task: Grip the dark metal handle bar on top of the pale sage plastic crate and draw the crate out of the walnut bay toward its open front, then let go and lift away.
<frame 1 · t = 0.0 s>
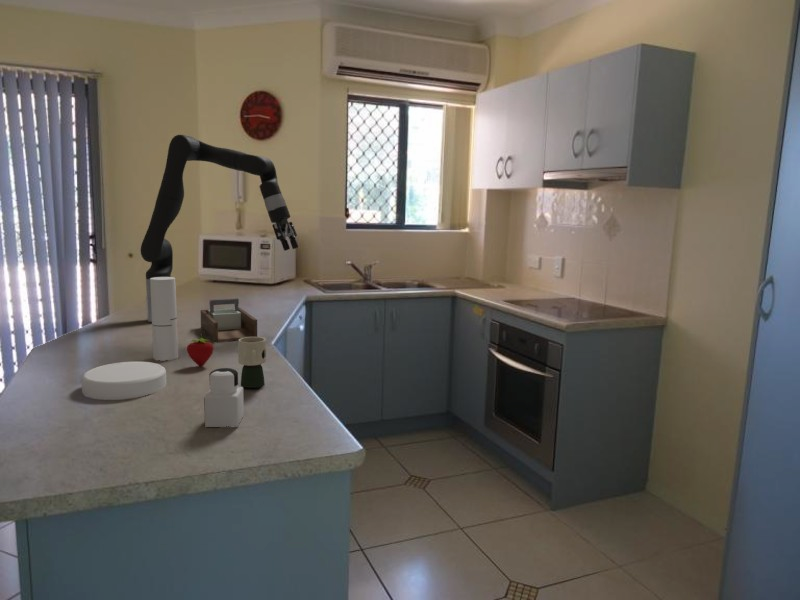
hand: (291, 249, 217), 31 cm above the countertop, tool tilted 20°, fingers open, 8 cm apart
medicine bottle: (224, 422, 128), on the countertop
cylindrical container: (165, 358, 178), on the countertop
container: (125, 388, 150), on the countertop
character mug: (252, 387, 153), on the countertop
crate: (224, 313, 217), point 7 cm above the countertop, slide at 0.0 cm
strawberry: (200, 367, 170), on the countertop
bay: (228, 333, 213), on the countertop
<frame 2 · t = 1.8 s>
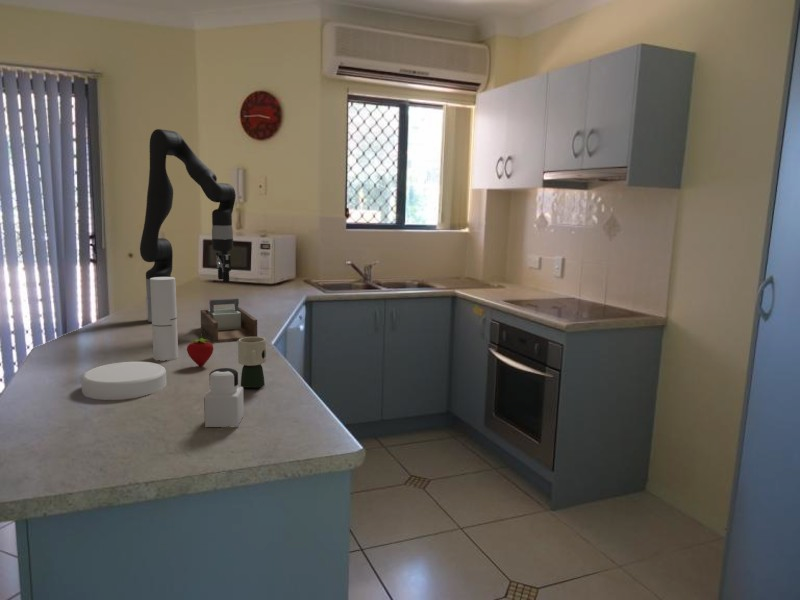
hand: (223, 280, 215), 19 cm above the countertop, tool pointing down, fingers open, 8 cm apart
nothing on the countertop moved.
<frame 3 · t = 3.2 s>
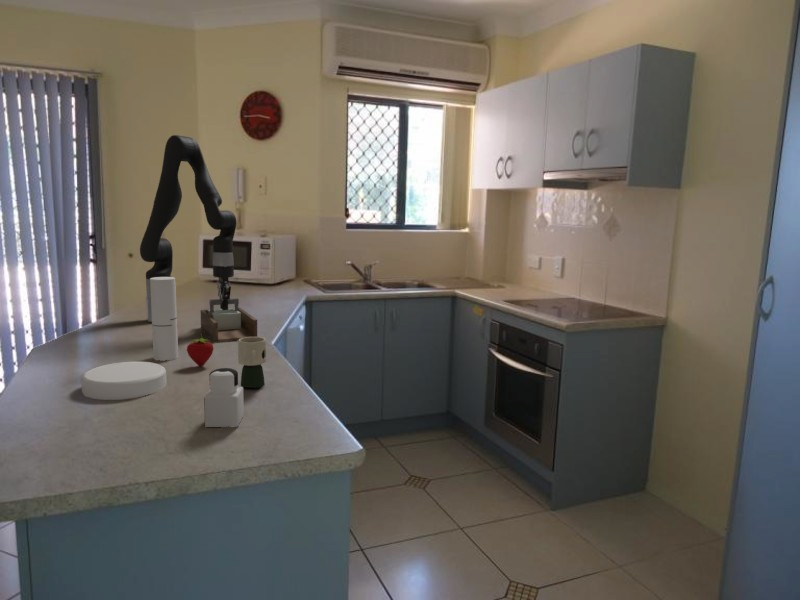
hand: (224, 309, 217), 8 cm above the countertop, tool pointing down, fingers closed, pressing on crate
crate: (224, 313, 217), point 7 cm above the countertop, slide at 0.0 cm, touching gripper
everything else where it was.
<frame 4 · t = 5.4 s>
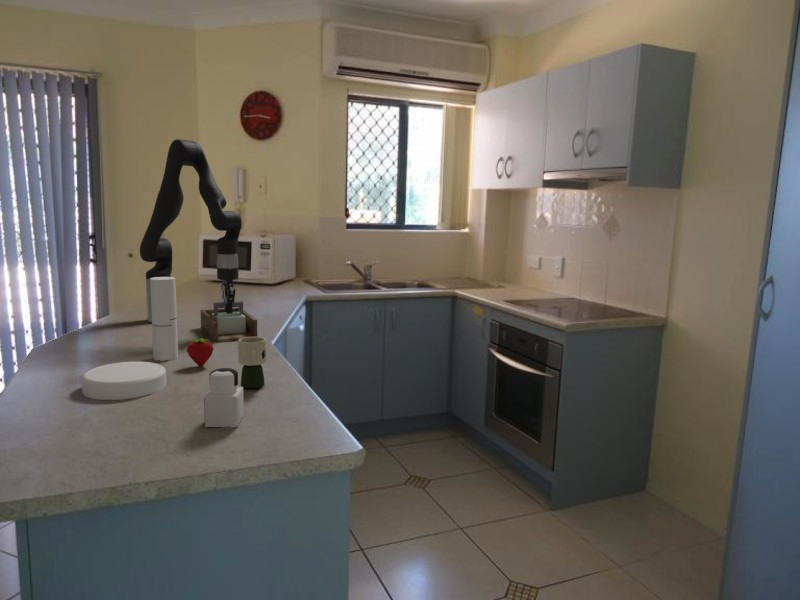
hand: (228, 312, 211), 8 cm above the countertop, tool pointing down, fingers closed on crate, 2 cm apart
crate: (228, 316, 211), point 7 cm above the countertop, slide at 7.2 cm, touching gripper
everything else where it was.
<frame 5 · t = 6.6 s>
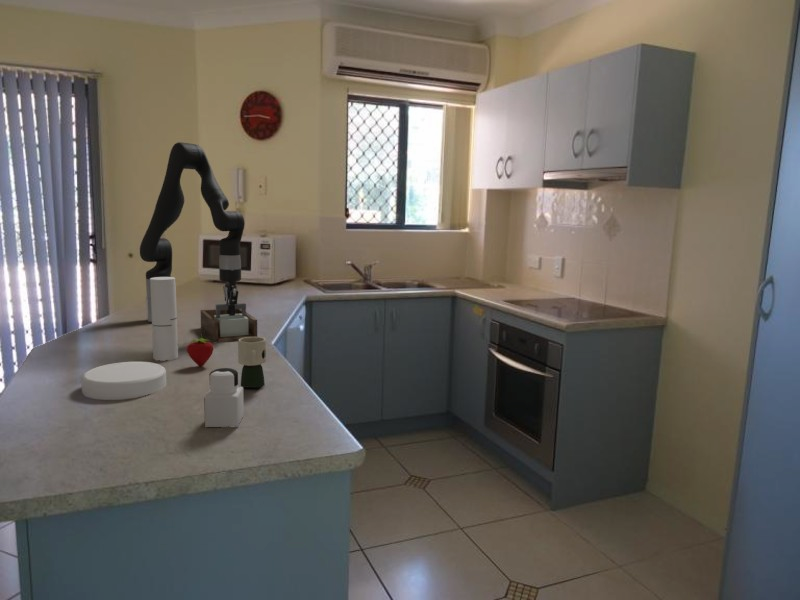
hand: (231, 314, 207), 8 cm above the countertop, tool pointing down, fingers closed on crate, 2 cm apart
crate: (231, 318, 208), point 7 cm above the countertop, slide at 11.4 cm, touching gripper
everything else where it was.
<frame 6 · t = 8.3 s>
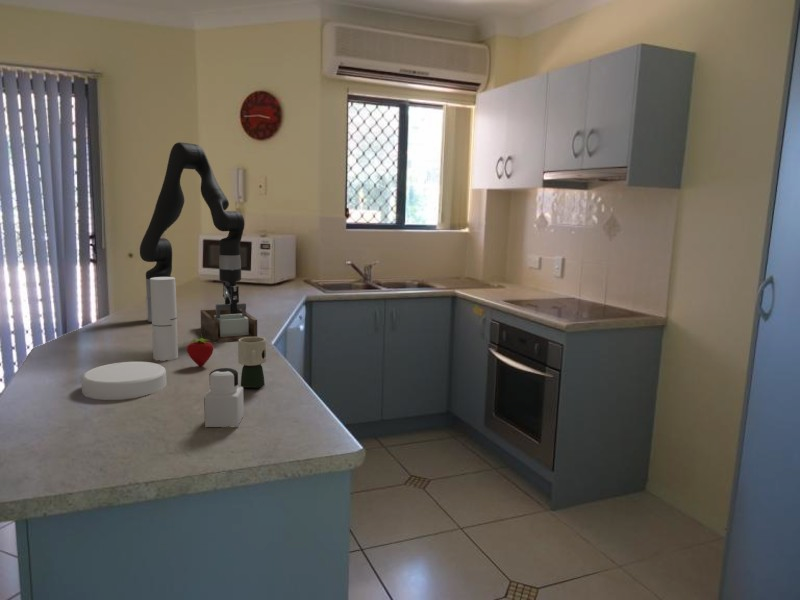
hand: (231, 311, 207), 9 cm above the countertop, tool pointing down, fingers open, 8 cm apart
crate: (231, 318, 208), point 7 cm above the countertop, slide at 11.4 cm
everything else where it was.
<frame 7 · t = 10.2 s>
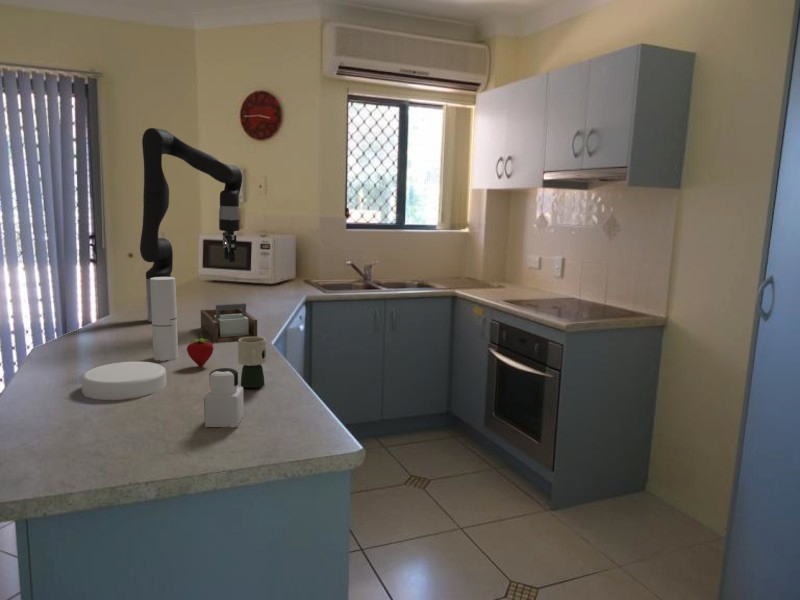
hand: (229, 260, 221), 26 cm above the countertop, tool pointing down, fingers open, 8 cm apart
nothing on the countertop moved.
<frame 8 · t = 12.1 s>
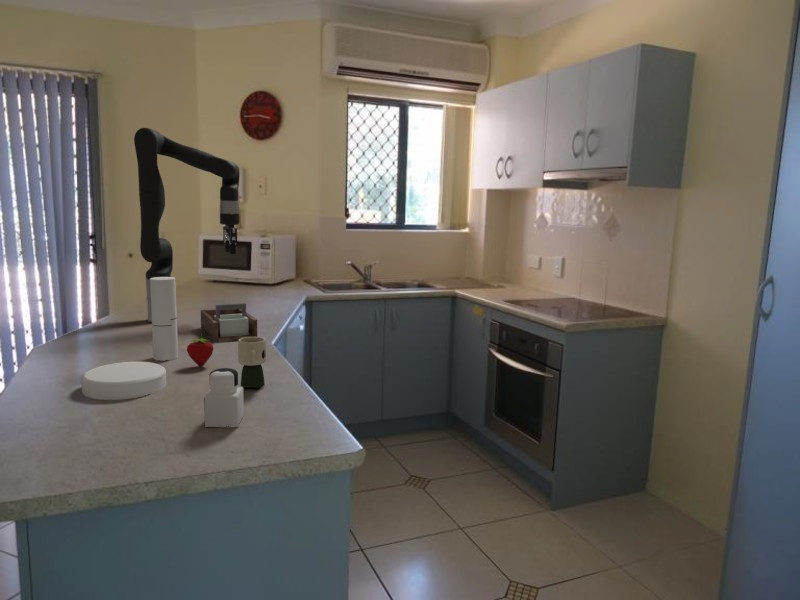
hand: (230, 253, 230), 28 cm above the countertop, tool pointing down, fingers open, 8 cm apart
nothing on the countertop moved.
at the end: crate slide at 11.4 cm; the gripper is holding nothing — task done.
